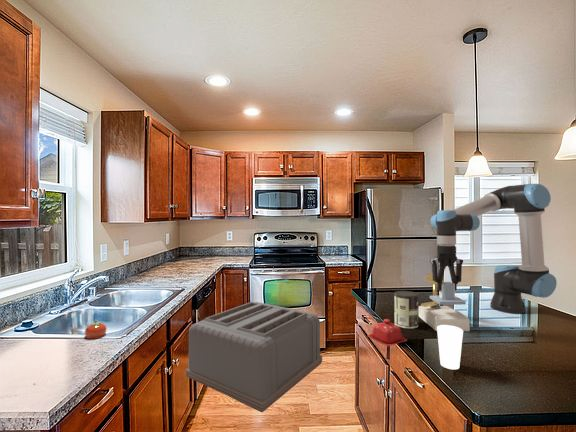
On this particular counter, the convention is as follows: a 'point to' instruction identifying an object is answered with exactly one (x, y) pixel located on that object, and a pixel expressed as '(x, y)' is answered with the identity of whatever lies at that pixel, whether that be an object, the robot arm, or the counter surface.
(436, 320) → the housing
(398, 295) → the coffee can
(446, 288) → the cover
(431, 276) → the l shaped latch
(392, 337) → the butter dish
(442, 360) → the cup
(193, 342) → the toaster
